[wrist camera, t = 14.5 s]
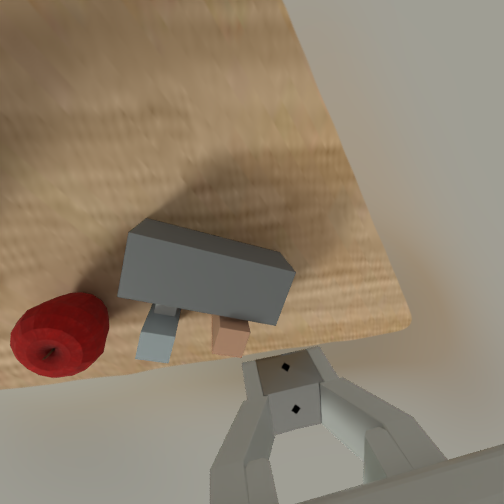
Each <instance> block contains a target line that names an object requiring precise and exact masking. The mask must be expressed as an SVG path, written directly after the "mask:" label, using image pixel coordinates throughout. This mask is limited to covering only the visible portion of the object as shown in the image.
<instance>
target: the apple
mask: <svg viewBox="0 0 504 504" xmlns="http://www.w3.org/2000/svg"><path fill="white" fill-rule="evenodd" d="M108 331H109V316H108V311H107V308H106V306H105V305H104V303H103V302H102V300H100V299H99V298H97V297H96V296H94V295H92V294H87V293H83V292H78V293H69V294H66V295H63V296H59V297H56V298H54V299H51V300H49V301H46V302H44V303H42V304H40V305H38V306H35V307H33V308H31V309H29V310H27V311H26V312H25V314H24V315H23V316H22V317H21V318H20V319H19V320H18V322H17V323H16V325H15V327H14V328H13V330H12V332H11V340H10V346H11V348H12V351H13V353H14V355H15V357H16V359H17V360H18V361H19V362H20V363H21V364H23V365H24V366H25V367H26V368H27V369H29V370H31V371H32V372H34V373H36V374H38V375H42V376H47V377H51V378H57V377H65V376H72V375H75V374H77V373H79V372H82V371H84V370H86V369H87V368H88V367H89V366H90V365H91V364H92V363H94V362H95V361H96V359H97V358H98V357H99V356H100V355H101V354H102V353H103V352H104V347H105V342H106V338H107V334H108Z"/></svg>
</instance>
